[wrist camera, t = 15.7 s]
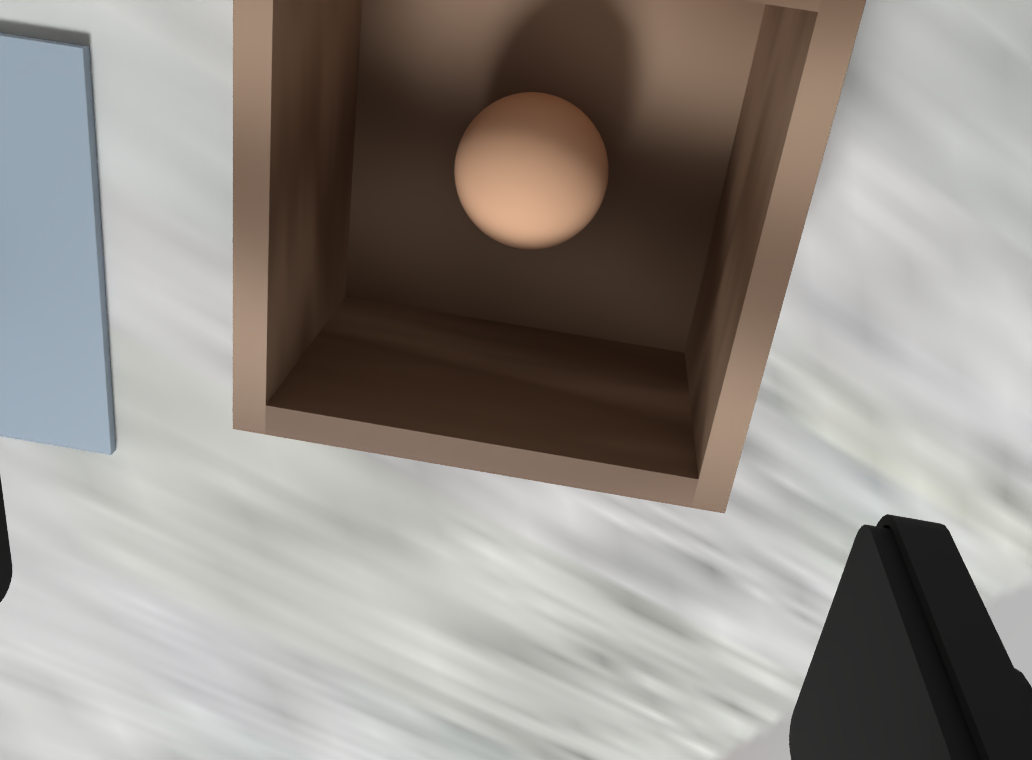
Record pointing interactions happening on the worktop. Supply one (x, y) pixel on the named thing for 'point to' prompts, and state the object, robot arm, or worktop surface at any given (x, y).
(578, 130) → the ball
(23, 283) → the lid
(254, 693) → the worktop surface
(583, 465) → the box
